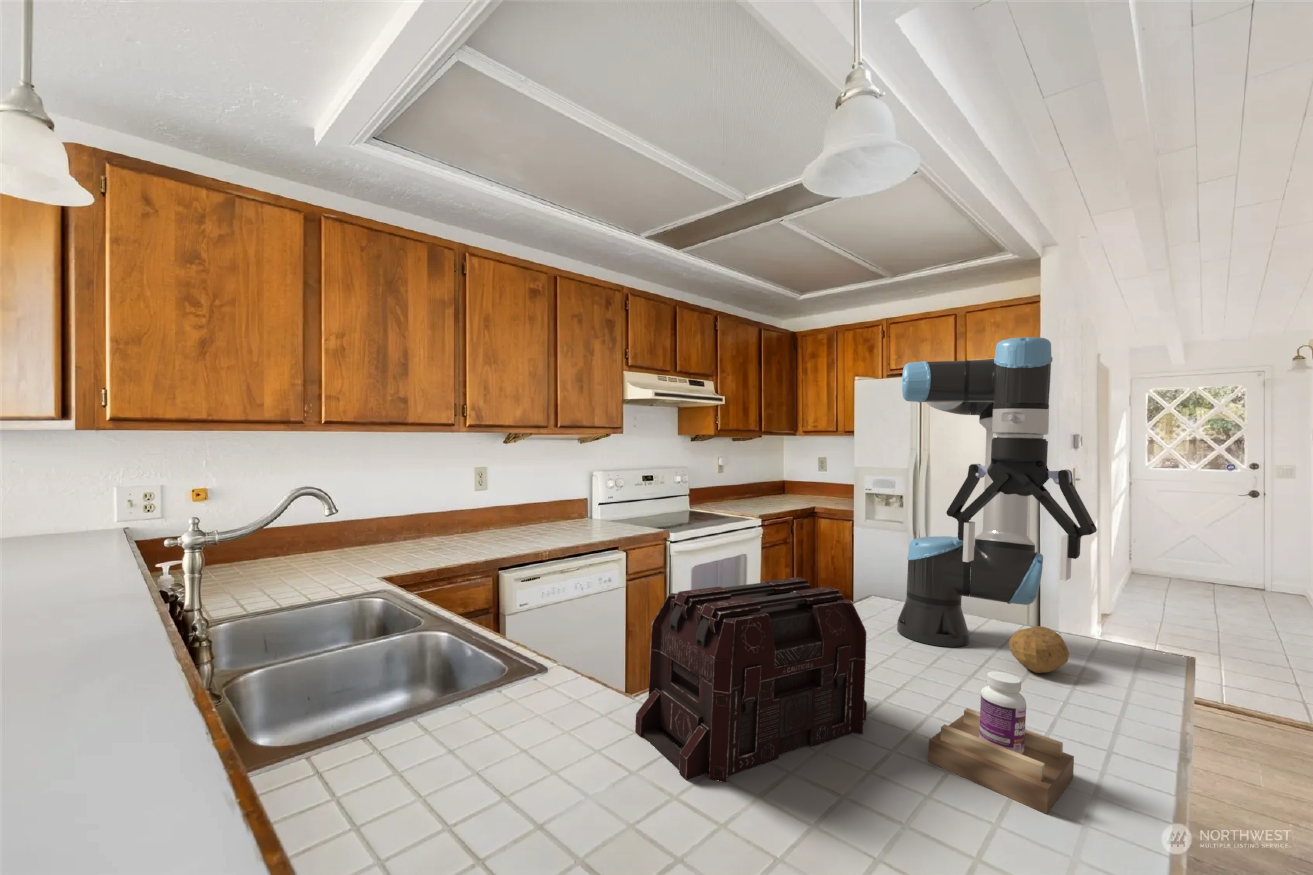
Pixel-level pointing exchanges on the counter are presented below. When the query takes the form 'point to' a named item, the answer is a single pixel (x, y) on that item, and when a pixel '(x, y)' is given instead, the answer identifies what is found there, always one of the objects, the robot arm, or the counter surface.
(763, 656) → the crate
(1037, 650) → the potato
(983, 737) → the pill bottle
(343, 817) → the counter surface
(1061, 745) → the display pedestal
